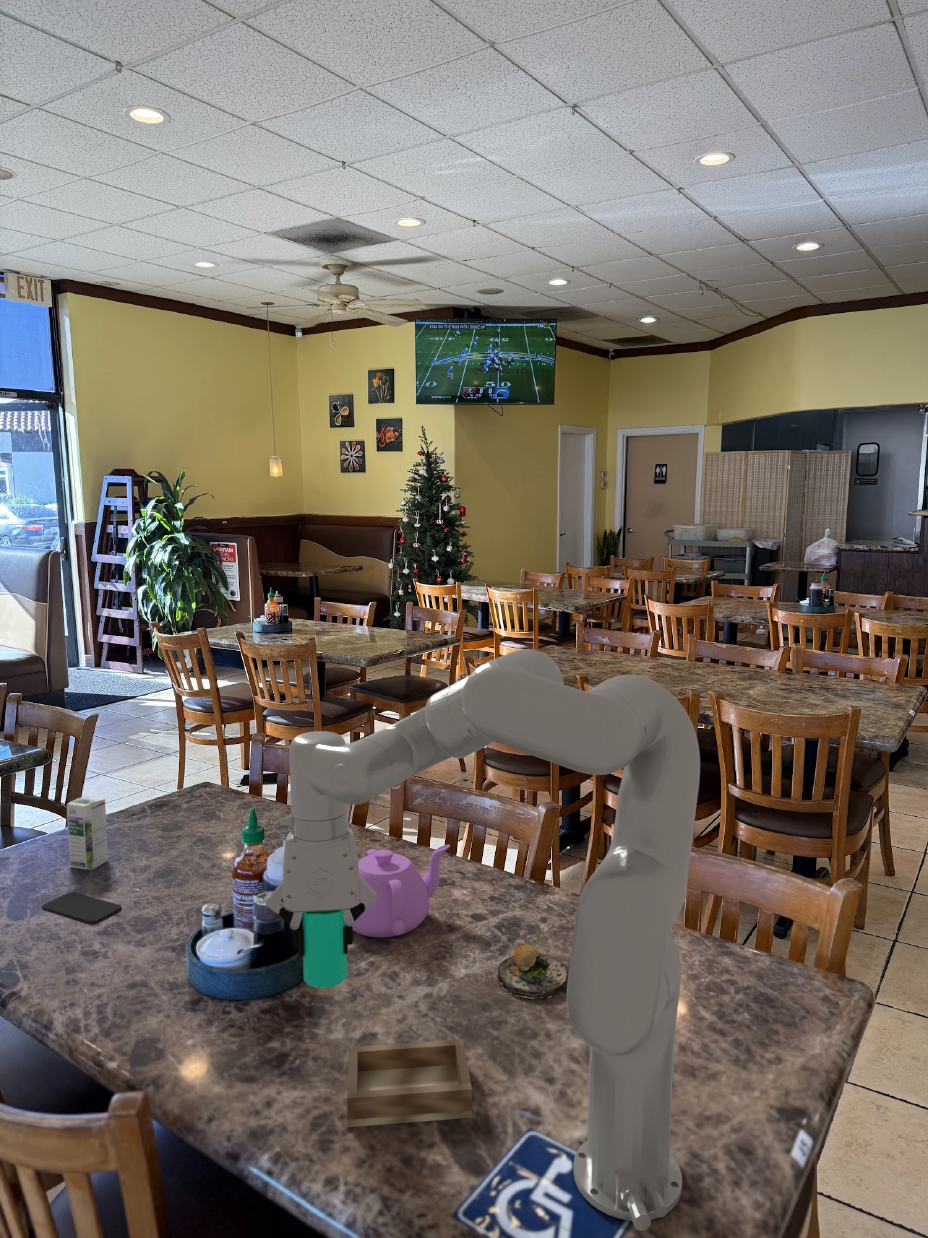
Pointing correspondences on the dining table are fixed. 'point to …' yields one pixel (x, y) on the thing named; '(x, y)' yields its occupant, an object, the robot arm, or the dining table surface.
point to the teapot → (396, 892)
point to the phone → (82, 907)
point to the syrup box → (87, 833)
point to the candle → (324, 948)
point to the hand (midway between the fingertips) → (323, 949)
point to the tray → (408, 1083)
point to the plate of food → (531, 973)
